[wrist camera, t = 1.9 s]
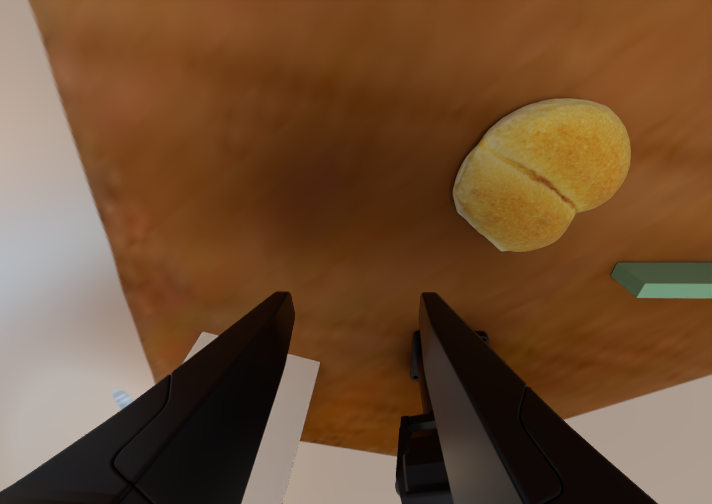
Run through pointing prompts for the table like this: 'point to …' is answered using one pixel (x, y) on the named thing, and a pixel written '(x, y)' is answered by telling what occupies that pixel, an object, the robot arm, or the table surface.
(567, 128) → the bread roll
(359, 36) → the table surface
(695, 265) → the mini golf green
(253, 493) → the milk
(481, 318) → the table surface
